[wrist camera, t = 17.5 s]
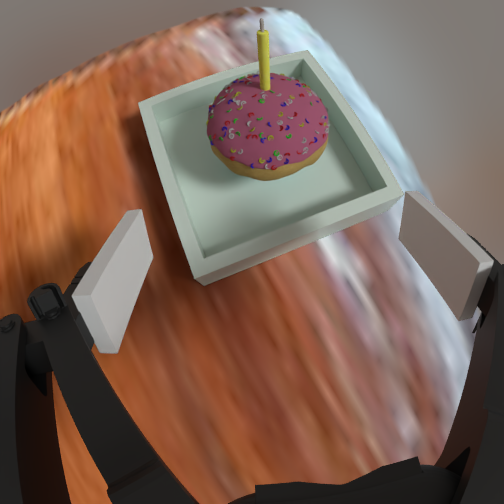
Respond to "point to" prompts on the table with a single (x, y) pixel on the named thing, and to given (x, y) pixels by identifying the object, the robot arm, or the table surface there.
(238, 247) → the tray
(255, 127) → the cupcake
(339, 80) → the table surface
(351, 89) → the table surface
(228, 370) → the table surface
